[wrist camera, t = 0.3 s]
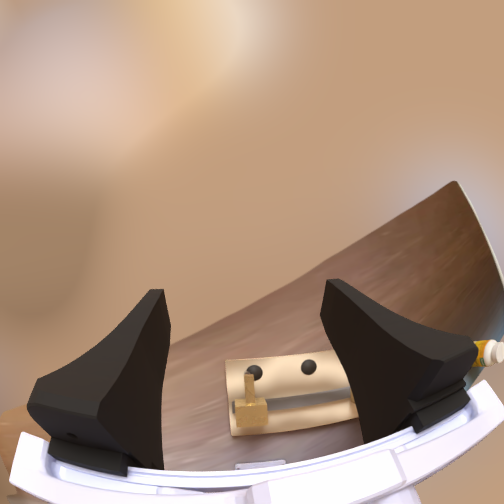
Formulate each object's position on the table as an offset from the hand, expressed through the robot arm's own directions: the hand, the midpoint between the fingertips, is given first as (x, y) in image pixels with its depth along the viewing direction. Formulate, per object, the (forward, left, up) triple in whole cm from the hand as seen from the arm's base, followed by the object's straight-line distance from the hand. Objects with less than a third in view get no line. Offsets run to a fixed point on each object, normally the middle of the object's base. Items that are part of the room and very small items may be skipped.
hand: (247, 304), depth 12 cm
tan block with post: (-10, -1, -27) cm, 29 cm away
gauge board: (-11, -10, -29) cm, 33 cm away
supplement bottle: (-13, -47, -29) cm, 57 cm away
